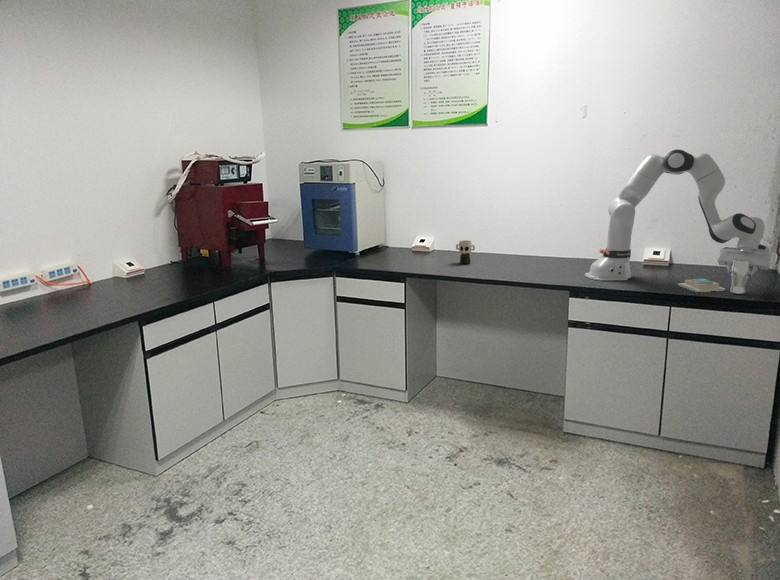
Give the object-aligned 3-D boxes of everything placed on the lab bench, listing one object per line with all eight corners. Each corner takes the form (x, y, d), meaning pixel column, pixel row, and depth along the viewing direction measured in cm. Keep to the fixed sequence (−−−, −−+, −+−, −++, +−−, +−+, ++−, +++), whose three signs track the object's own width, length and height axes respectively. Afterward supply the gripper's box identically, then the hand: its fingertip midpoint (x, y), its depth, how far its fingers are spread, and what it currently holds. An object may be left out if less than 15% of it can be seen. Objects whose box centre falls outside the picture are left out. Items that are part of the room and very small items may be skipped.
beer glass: (742, 295, 253) (746, 262, 249) (725, 292, 259) (729, 259, 255) (749, 292, 257) (753, 260, 253) (732, 289, 263) (737, 257, 259)
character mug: (454, 264, 329) (454, 242, 326) (457, 261, 336) (457, 239, 332) (473, 265, 326) (473, 242, 322) (475, 262, 332) (476, 240, 329)
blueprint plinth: (697, 292, 260) (698, 285, 259) (677, 285, 273) (678, 278, 272) (725, 290, 262) (726, 284, 261) (704, 283, 275) (705, 277, 274)
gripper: (721, 242, 264) (713, 267, 260) (773, 247, 251) (765, 273, 247) (722, 250, 269) (714, 274, 264) (773, 255, 255) (766, 281, 251)
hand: (739, 274), depth 255 cm, fingers closed on beer glass, 7 cm apart
